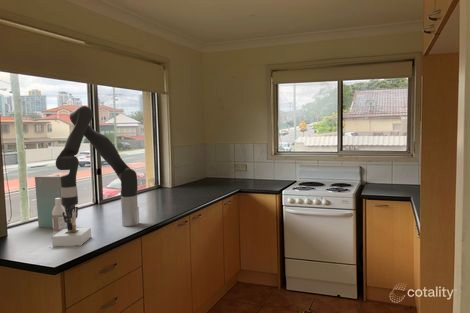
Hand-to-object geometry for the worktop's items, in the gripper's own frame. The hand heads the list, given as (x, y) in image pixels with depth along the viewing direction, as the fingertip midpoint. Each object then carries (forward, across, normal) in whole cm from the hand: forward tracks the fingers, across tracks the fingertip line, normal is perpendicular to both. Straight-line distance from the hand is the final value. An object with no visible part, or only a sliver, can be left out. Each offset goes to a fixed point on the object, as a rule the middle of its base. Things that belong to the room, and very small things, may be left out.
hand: (71, 228), depth 194 cm
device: (+7, +34, +24) cm, 42 cm away
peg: (+4, 0, 0) cm, 4 cm away
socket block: (+7, 0, 0) cm, 7 cm away
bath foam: (+7, +14, +12) cm, 20 cm away
